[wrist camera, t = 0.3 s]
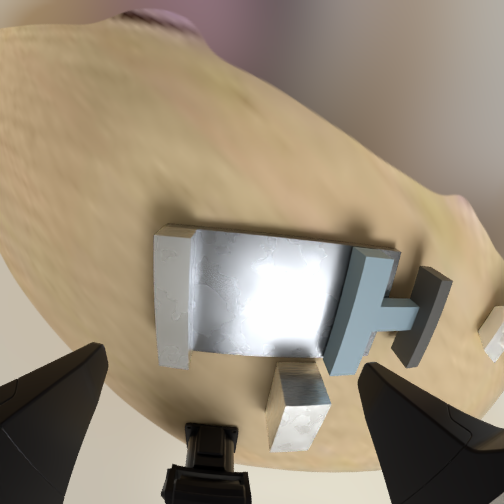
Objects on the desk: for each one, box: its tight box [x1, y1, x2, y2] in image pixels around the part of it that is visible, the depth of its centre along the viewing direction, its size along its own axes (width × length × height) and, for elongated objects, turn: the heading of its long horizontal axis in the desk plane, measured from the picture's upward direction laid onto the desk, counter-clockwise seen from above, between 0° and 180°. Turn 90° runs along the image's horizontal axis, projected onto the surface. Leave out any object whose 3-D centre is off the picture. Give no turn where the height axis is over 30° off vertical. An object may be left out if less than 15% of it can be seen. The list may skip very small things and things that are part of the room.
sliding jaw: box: [323, 247, 453, 376], centre depth 21 cm, size 11×9×4 cm
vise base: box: [154, 224, 401, 370], centre depth 21 cm, size 11×20×4 cm, turn 83°
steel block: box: [265, 362, 331, 452], centre depth 23 cm, size 8×4×6 cm, turn 173°
